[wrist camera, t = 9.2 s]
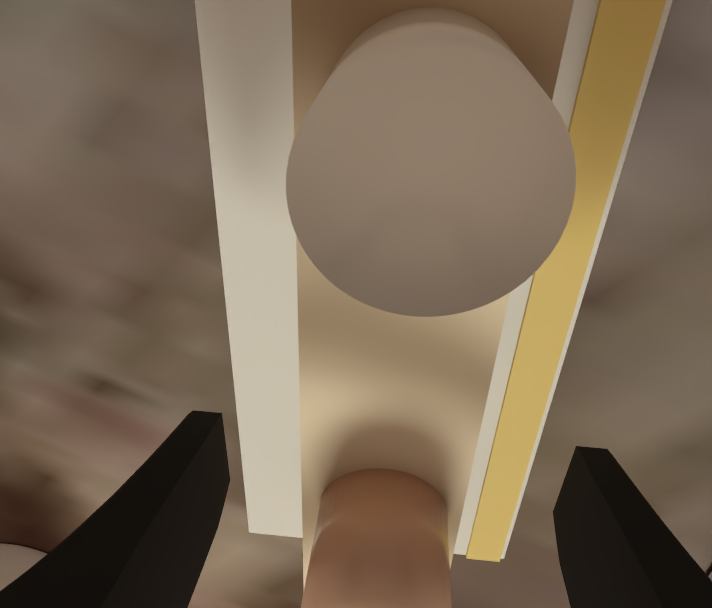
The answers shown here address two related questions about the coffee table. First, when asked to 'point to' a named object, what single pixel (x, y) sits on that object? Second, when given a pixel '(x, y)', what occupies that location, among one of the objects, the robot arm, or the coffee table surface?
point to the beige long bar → (389, 330)
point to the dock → (279, 255)
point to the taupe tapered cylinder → (430, 168)
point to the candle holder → (16, 561)
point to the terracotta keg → (379, 544)
